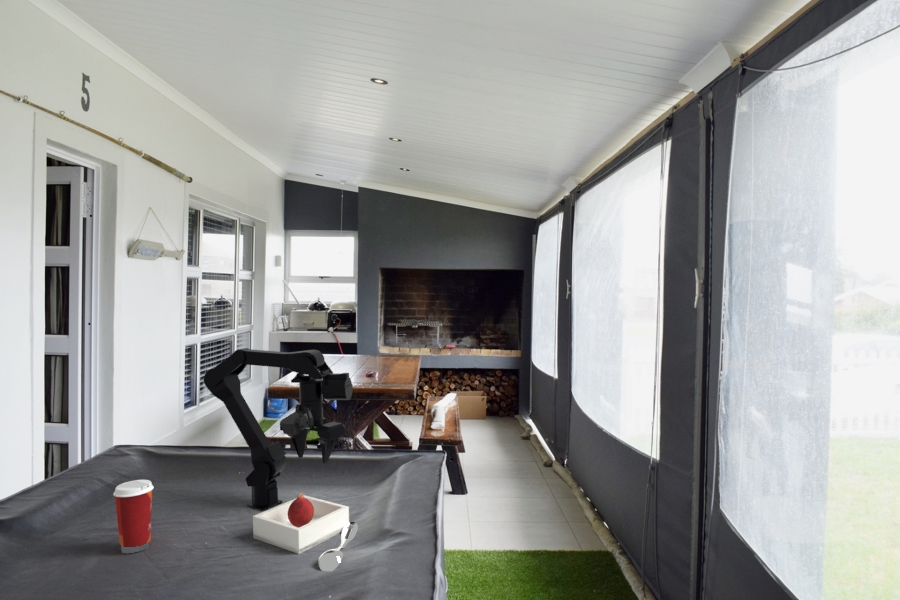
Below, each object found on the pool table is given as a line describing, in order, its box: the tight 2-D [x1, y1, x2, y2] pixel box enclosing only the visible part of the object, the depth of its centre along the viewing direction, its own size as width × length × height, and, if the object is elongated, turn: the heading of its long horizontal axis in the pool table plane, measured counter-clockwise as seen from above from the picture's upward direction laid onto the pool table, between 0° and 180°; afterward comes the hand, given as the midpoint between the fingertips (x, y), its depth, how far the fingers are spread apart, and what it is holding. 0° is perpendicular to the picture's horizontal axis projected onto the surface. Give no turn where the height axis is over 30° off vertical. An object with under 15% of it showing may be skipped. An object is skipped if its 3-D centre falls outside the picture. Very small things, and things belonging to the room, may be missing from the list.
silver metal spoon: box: [318, 521, 359, 572], centre depth 120 cm, size 20×4×5 cm
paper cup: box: [112, 479, 155, 547], centre depth 122 cm, size 8×8×14 cm
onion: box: [288, 492, 314, 528], centre depth 128 cm, size 6×6×8 cm
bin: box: [252, 494, 350, 555], centre depth 128 cm, size 15×15×5 cm
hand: (312, 460), depth 144 cm, fingers open, 9 cm apart
